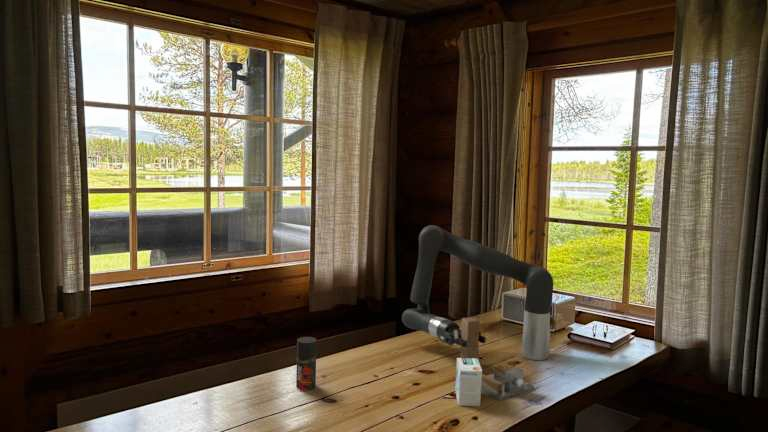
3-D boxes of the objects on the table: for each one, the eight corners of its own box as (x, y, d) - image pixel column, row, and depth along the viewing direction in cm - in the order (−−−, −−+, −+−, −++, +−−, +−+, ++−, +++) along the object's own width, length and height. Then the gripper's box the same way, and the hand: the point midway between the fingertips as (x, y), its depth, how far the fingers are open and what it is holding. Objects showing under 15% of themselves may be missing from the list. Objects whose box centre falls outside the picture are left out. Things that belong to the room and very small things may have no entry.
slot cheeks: (498, 373, 184) (498, 365, 184) (524, 384, 176) (524, 376, 175) (472, 380, 178) (472, 372, 177) (497, 392, 169) (497, 384, 168)
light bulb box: (454, 390, 172) (456, 357, 171) (476, 391, 172) (478, 357, 170) (458, 405, 161) (459, 370, 160) (481, 406, 161) (483, 371, 160)
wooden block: (484, 377, 183) (487, 324, 181) (472, 378, 181) (475, 325, 180) (470, 367, 191) (473, 316, 190) (459, 368, 190) (461, 317, 188)
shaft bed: (501, 374, 186) (502, 354, 185) (538, 390, 173) (539, 369, 173) (466, 384, 177) (467, 362, 176) (502, 402, 164) (503, 379, 164)
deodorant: (318, 384, 173) (319, 338, 171) (310, 392, 167) (311, 344, 166) (301, 381, 175) (302, 335, 173) (292, 389, 169) (293, 341, 167)
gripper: (428, 321, 193) (460, 334, 180) (459, 316, 201) (491, 328, 188) (428, 342, 194) (459, 357, 181) (458, 336, 202) (490, 349, 189)
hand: (475, 342), depth 184 cm, fingers open, 8 cm apart
